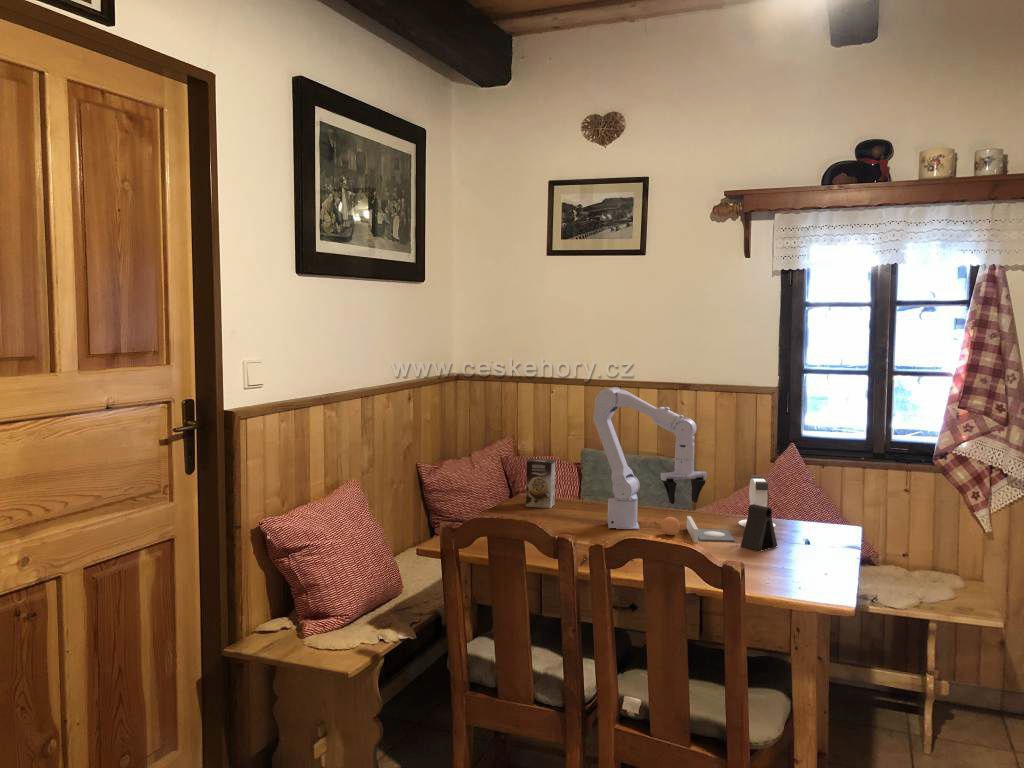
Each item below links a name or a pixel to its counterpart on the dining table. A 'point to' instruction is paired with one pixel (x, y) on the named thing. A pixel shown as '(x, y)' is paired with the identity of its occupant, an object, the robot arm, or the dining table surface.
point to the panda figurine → (757, 494)
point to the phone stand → (759, 529)
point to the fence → (692, 529)
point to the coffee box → (540, 483)
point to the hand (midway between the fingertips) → (683, 502)
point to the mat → (714, 535)
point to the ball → (670, 526)
